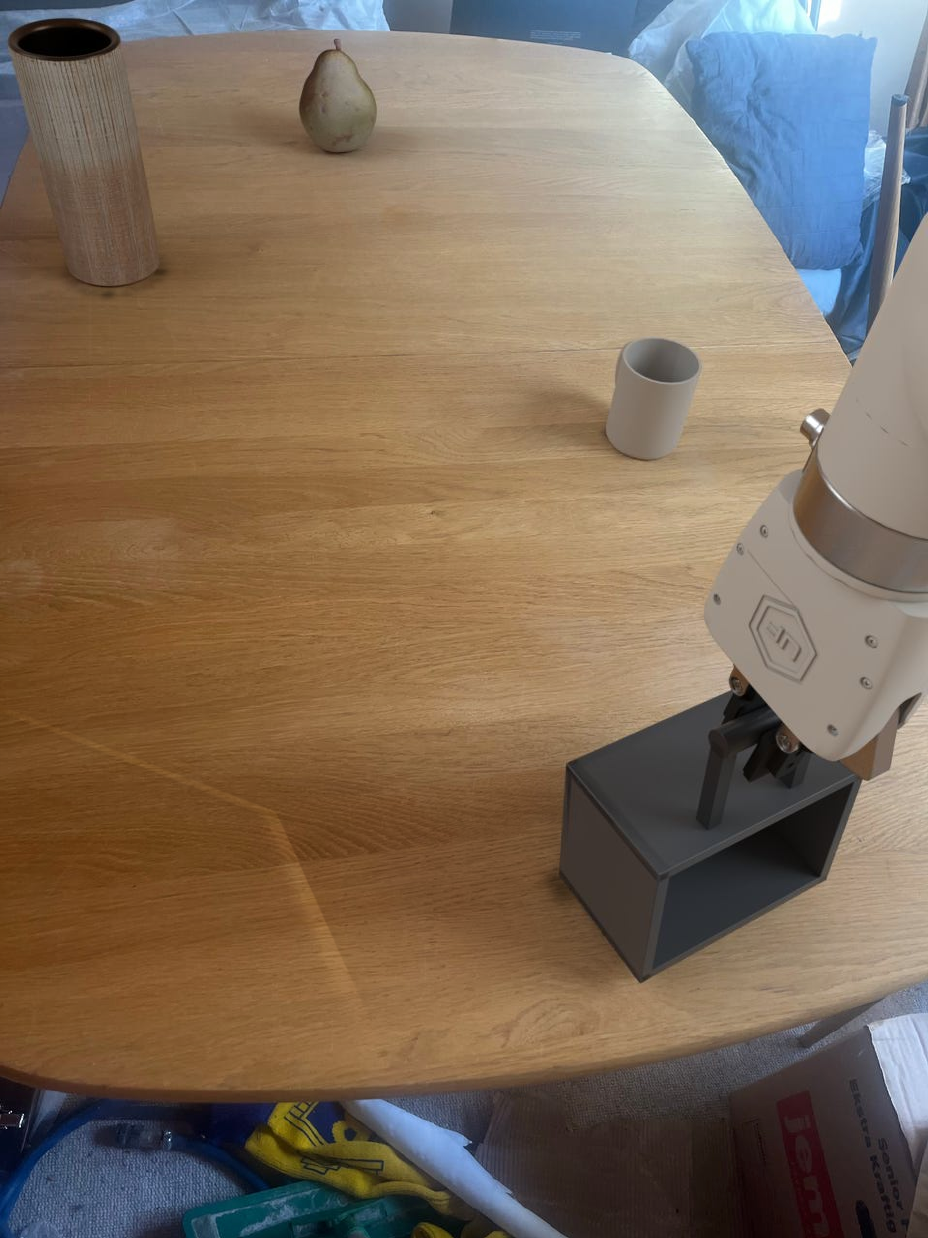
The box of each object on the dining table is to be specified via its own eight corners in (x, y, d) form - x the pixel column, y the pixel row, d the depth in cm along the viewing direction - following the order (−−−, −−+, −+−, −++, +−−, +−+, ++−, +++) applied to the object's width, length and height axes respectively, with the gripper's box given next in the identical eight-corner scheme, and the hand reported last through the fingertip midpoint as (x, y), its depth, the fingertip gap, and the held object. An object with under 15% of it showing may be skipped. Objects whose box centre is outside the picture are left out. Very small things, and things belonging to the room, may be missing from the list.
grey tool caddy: (734, 787, 69) (826, 880, 63) (558, 874, 64) (639, 984, 58) (782, 586, 57) (901, 676, 51) (571, 672, 52) (675, 784, 46)
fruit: (360, 125, 133) (359, 28, 123) (391, 154, 128) (392, 56, 118) (291, 136, 129) (285, 38, 120) (320, 167, 124) (316, 67, 115)
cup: (625, 468, 90) (646, 390, 84) (580, 404, 96) (595, 326, 89) (691, 454, 93) (716, 377, 86) (643, 392, 98) (663, 315, 91)
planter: (101, 231, 110) (50, 8, 93) (178, 253, 109) (141, 30, 91) (47, 273, 104) (-18, 43, 87) (128, 297, 102) (78, 66, 85)
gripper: (700, 414, 41) (616, 669, 55) (978, 687, 33) (794, 905, 47) (831, 374, 44) (718, 627, 58) (1118, 616, 35) (904, 843, 50)
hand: (753, 750), depth 52 cm, fingers closed on grey tool caddy
